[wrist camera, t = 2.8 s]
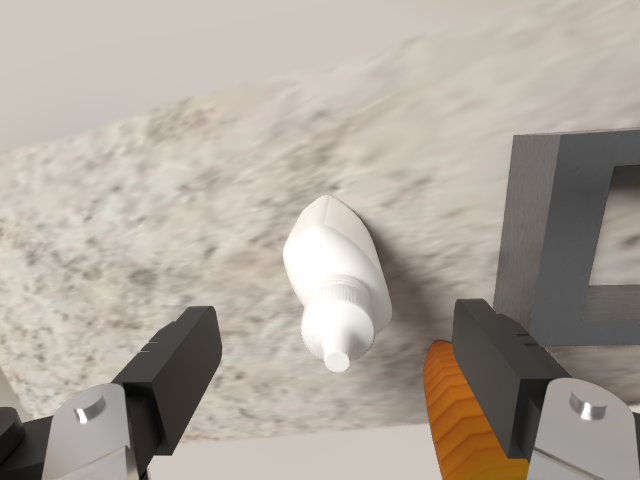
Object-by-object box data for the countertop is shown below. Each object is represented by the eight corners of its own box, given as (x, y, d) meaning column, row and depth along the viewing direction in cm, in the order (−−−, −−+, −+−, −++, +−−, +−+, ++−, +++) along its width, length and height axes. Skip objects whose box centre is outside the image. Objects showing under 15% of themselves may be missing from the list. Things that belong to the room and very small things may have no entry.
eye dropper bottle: (369, 187, 19) (410, 259, 8) (378, 271, 21) (422, 434, 9) (298, 197, 20) (239, 279, 8) (313, 279, 21) (279, 442, 10)
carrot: (394, 365, 23) (480, 738, 9) (411, 306, 21) (549, 642, 7) (461, 377, 23) (660, 773, 9) (483, 319, 21) (769, 683, 7)
